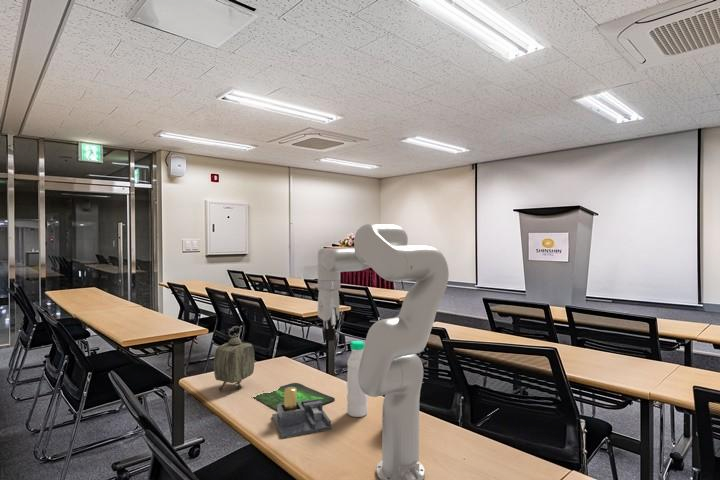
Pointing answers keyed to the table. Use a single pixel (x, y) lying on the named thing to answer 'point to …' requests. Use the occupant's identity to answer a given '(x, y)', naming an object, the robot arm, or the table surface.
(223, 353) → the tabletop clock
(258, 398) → the mouse mat
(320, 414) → the lock pin
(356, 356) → the water bottle
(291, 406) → the peg
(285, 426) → the dock
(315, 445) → the table surface
